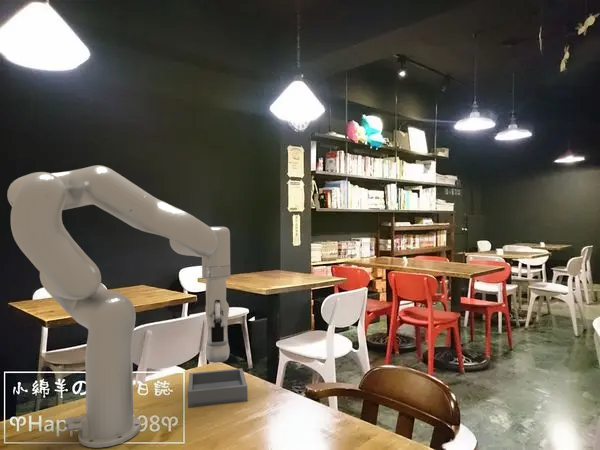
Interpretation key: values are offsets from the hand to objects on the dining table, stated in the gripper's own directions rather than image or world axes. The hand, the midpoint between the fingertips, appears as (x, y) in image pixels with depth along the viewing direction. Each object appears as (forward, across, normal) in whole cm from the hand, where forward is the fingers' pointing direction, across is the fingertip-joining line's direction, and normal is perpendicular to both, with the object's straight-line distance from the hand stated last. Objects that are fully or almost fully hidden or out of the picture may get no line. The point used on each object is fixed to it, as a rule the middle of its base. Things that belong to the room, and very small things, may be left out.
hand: (217, 337), depth 112 cm
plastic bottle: (+7, 0, 0) cm, 7 cm away
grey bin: (+15, 0, 0) cm, 15 cm away
